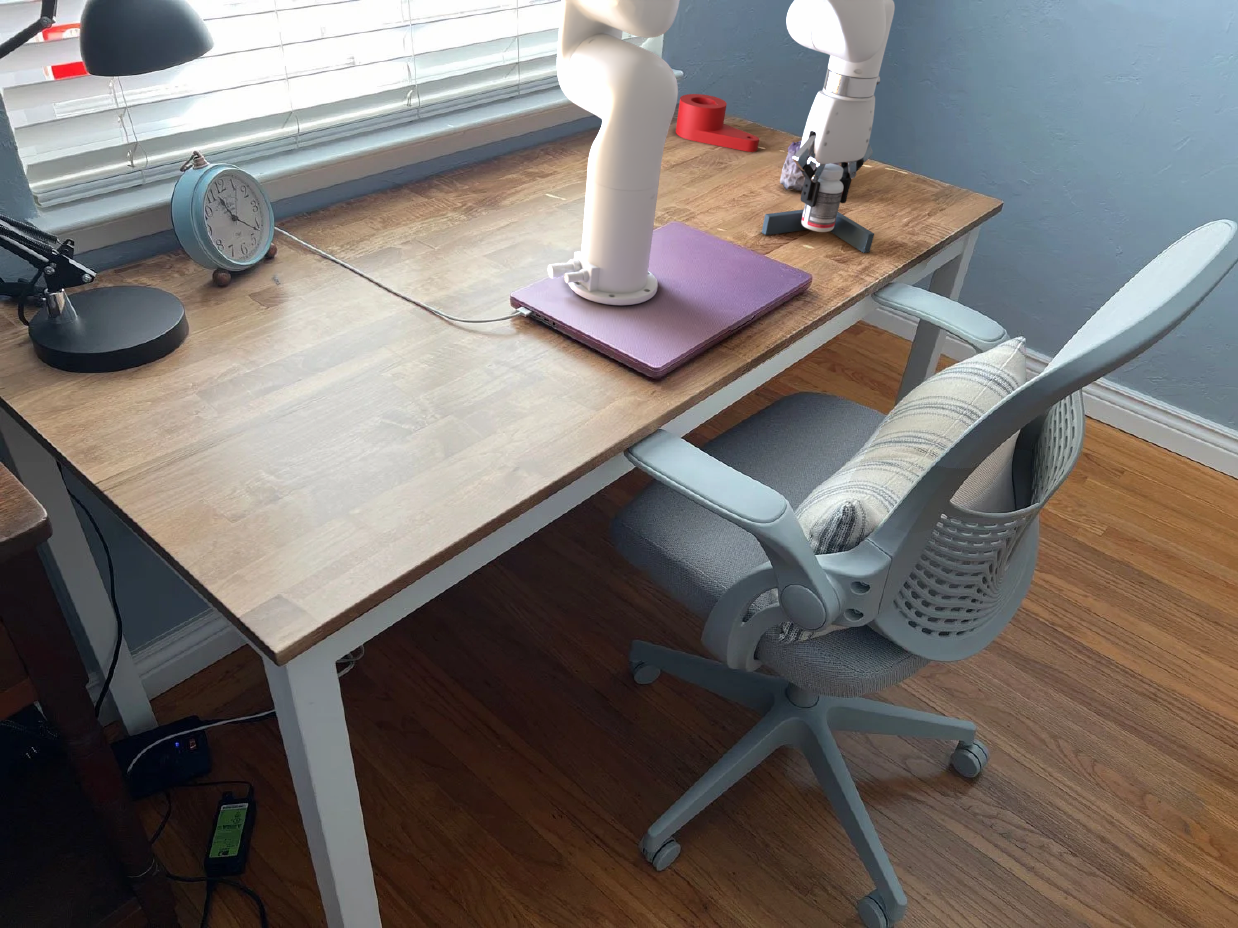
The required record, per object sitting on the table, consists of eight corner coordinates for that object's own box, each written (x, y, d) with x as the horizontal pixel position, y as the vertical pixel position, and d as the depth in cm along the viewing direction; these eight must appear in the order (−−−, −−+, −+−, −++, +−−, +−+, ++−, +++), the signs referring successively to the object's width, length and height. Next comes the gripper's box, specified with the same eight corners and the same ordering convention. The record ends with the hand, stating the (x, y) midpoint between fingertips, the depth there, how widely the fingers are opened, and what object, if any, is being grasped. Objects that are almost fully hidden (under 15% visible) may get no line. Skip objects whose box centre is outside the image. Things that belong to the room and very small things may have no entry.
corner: (804, 262, 147) (808, 243, 145) (761, 232, 155) (764, 214, 153) (869, 252, 153) (874, 233, 151) (824, 224, 161) (829, 206, 159)
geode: (798, 159, 187) (816, 109, 182) (853, 181, 185) (873, 131, 179) (767, 184, 172) (786, 130, 166) (826, 208, 169) (847, 154, 163)
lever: (667, 133, 193) (671, 100, 189) (689, 124, 199) (694, 91, 195) (746, 156, 186) (752, 122, 182) (766, 146, 192) (772, 112, 188)
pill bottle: (840, 230, 154) (855, 171, 148) (816, 235, 151) (830, 175, 146) (817, 218, 157) (831, 159, 152) (793, 222, 155) (806, 163, 149)
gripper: (877, 75, 148) (849, 189, 158) (789, 79, 140) (765, 198, 151) (910, 89, 142) (878, 206, 153) (820, 94, 135) (794, 216, 146)
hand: (823, 201), depth 152 cm, fingers closed on pill bottle, 5 cm apart
